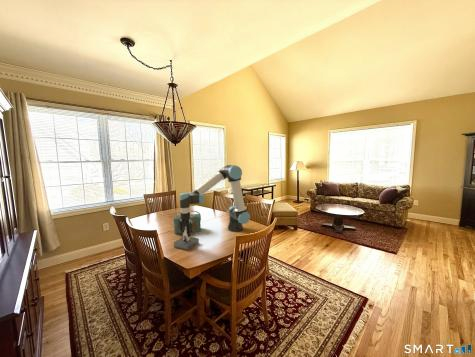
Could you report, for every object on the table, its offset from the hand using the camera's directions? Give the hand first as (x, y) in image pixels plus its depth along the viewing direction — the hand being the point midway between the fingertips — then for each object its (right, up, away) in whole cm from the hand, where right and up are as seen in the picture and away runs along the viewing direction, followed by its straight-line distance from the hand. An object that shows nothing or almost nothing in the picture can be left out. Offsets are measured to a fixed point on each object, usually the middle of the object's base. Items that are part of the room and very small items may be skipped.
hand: (186, 240), depth 163 cm
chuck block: (0, -4, 0) cm, 4 cm away
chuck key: (0, -1, 0) cm, 1 cm away
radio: (-7, -1, +32) cm, 33 cm away
